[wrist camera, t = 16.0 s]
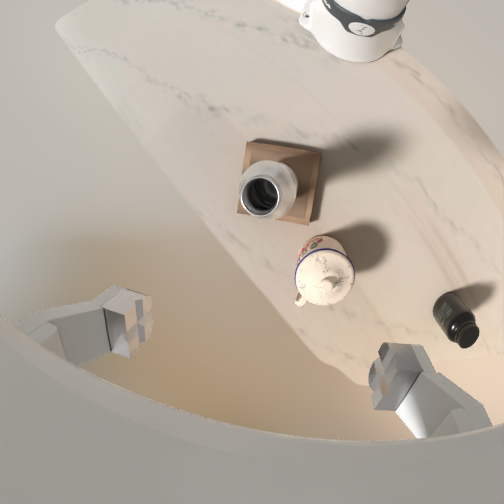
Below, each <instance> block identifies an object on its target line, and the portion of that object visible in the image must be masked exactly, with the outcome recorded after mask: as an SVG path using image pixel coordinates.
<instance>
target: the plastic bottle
mask: <svg viewBox="0 0 504 504" xmlns="http://www.w3.org/2000/svg"><path fill="white" fill-rule="evenodd" d="M297 190H298V178H297V175H296V173H295V172H294V170H293V169H292V168H291V167H290V166H288V165H287V164H285V163H282V162H275V161H270V160H265V161H260V162H257V163H254V164H252V165H251V166H250V167H249V168H247V170H246V171H245V172H244V173H243V175H242V177H241V179H240V182H239V197H240V201H241V203H242V205H243V207H244V208H245V210H246V211H247V212H248V213H250V214H251V215H252V216H254V217H256V218H258V219H262V220H274V219H278V218H280V217H282V216H283V215H285V214H286V213H287V212H288V211H289V210H290V209H291V207H292V206H293V204H294V201H295V199H296V193H297Z"/></svg>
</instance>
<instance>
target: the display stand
mask: <svg viewBox="0 0 504 504" xmlns="http://www.w3.org/2000/svg"><path fill="white" fill-rule="evenodd" d="M320 158H321V153H319V152H313V151H308V150H302V149H296V148H290V147H284V146H277V145H270V144H263V143H255V142H247V143H246V150H245V157H244V165H243V172H242V175H243V173H244V172H245V171H246V170H247V168H249V167H250V166H251V165H252V164H254V163H257V162H260V161H265V160H270V161H275V162H282V163H285V164H287V165H288V166H290V167H291V168H292V169H293V170H294V172H295V173H296V175H297V178H298V190H297V193H296V199H295V201H294V204H293V206H292V207H291V209H290V210H289V211H288V212H287V213H286V214H285V215H283V216H282V217H280V218H278V219H276V220H281V221H287V222H292V223H298V224H303V225H308V226H309V222H310V216H311V211H312V206H313V200H314V194H315V189H316V183H317V177H318V171H319V164H320ZM237 213H241V214H247V215H251V214H250V213H248V212H247V211H246V210H245V208H244V207H243V205H242V203H241V201H240V197H239V203H238V210H237Z"/></svg>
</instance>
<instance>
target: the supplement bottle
mask: <svg viewBox="0 0 504 504" xmlns="http://www.w3.org/2000/svg"><path fill="white" fill-rule="evenodd" d="M433 316H434V318H435V320H436V321H437V323H438V324H439V326H440V327H441V329H442V330H443V331H444V333H445V334H446V336H447V337H448V339H449V340H450V341H452V342H455V343H457V344H458V345H459V346H460V347H461V348H463V349H464V348H468V347H470V346H472V345H473V344H474V343H475V342H476V340H477V339H478V336H479V328H478V327H477V325H476V324H475V316H474V314H473V313H472V312H471V310H470V309H469V308H468V307H467V306H466V305H465V304H464V303H463V302H462V301H461V300H460V299H459V298H458V297H457V296H456V295H455V294H453V293H446V294H444V295H442V296H441V297H440V298H439V299H438V300H437V301H436V303H435V305H434V307H433Z"/></svg>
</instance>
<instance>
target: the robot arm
mask: <svg viewBox="0 0 504 504" xmlns="http://www.w3.org/2000/svg"><path fill="white" fill-rule="evenodd" d="M408 1H409V0H307V1H306V4H305V6H304V8H303V11H302V13H301V15H300V18H299V24H300V25H301V26H302V27H304V28H305V29H307V30H308V31H310V32H311V33H312V34H313V35H314V37H315V38H316V40H317V41H318V42H319V44H320V45H321V46H322V47H323V48H324V49H326V50H327V51H328V52H330V53H331V54H333V55H335V56H337V57H339V58H341V59H344V60H347V61H351V62H359V63H365V62H371V61H375V60H377V59H379V58H381V57H382V56H383V55H384V54H385V53H386V52H388V51H389V50H393V49H397V48H399V47H401V45H402V38H401V32H402V30H403V28H404V24H403V22H402V18H403V15H404V13H405V10H406V4H407V3H408ZM305 16H309V17H305ZM151 307H152V299H151V297H150V296H149V295H146V294H143V293H140V292H137V291H134V290H130V289H127V288H124V287H121V286H118V285H113V286H111V287H110V288H108V289H107V290H106V291H104V292H103V293H101V294H100V295H99V296H98V297H96V298H95V299H93V300H92V301H90V302H81V303H77V304H71V305H66V306H61V307H56V308H51V309H46V310H40V311H35V312H32V313H31V314H29V315H28V316H26V317H25V318H23V319H22V320H21V321H19V322H18V323H16V324H15V325H11V324H10V323H9V322H8V321H6V320H5V319H4V318H2V317H1V316H0V504H504V423H503V424H499V425H495V426H493V425H492V423H491V421H490V419H489V417H488V415H487V413H486V411H485V409H484V407H483V405H482V404H481V403H479V402H478V401H477V400H475V399H474V398H473V397H472V396H470V395H469V394H468V393H466V392H465V391H463V390H462V389H461V388H459V387H458V386H457V385H456V384H454V383H453V382H451V381H450V380H449V379H447V378H446V377H445V376H443V375H442V374H441V373H436V371H435V369H434V367H433V365H432V363H431V361H430V359H429V357H428V355H427V353H426V351H425V350H424V348H423V346H421V345H418V344H399V343H387V342H384V343H383V344H382V345H381V347H380V349H379V351H378V353H379V356H380V357H379V358H378V359H376V360H375V361H373V364H372V366H371V368H370V372H369V386H370V388H371V389H372V390H373V391H374V392H373V394H372V401H373V406H374V410H390V411H396V413H397V414H398V416H399V417H400V418H401V419H402V420H403V422H404V423H405V424H406V425H407V427H408V428H409V429H410V430H411V431H412V433H413V434H414V435H415V436H416V438H417V439H408V440H390V441H389V440H388V441H354V440H333V439H320V438H310V437H301V436H293V435H286V434H279V433H273V432H267V431H262V430H256V429H251V428H246V427H242V426H237V425H233V424H228V423H224V422H220V421H216V420H212V419H209V418H205V417H202V416H198V415H195V414H192V413H188V412H185V411H182V410H179V409H176V408H173V407H170V406H167V405H164V404H161V403H158V402H156V401H153V400H151V399H148V398H145V397H143V396H140V395H138V394H135V393H133V392H130V391H128V390H126V389H123V388H121V387H119V386H117V385H114V384H112V383H110V382H108V381H106V380H104V379H102V378H100V377H98V376H95V375H94V374H92V373H90V372H88V371H86V370H84V369H82V368H80V367H78V366H81V365H83V364H85V363H88V362H90V361H92V360H94V359H97V358H99V357H102V356H104V355H106V354H108V353H110V352H114V353H117V354H119V355H122V356H124V357H127V358H130V359H131V358H132V356H133V355H134V354H135V353H136V352H137V351H138V349H139V348H140V346H139V343H141V342H143V341H146V340H147V339H148V337H149V336H150V333H151V331H152V327H153V317H152V315H151V314H150V312H149V310H150V309H151Z"/></svg>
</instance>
